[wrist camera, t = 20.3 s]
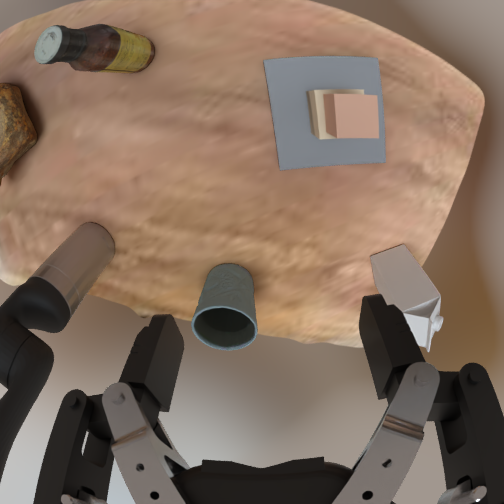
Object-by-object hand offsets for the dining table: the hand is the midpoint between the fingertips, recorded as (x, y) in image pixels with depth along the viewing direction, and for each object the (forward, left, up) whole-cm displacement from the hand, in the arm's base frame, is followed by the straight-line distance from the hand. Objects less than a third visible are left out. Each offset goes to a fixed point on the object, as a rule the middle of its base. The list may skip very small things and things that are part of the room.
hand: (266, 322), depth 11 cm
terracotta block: (+10, +6, -24) cm, 27 cm away
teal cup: (-9, -22, -32) cm, 40 cm away
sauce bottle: (-16, +20, -32) cm, 41 cm away
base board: (+10, +6, -32) cm, 34 cm away
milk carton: (+21, -22, -32) cm, 44 cm away
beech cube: (+10, +6, -30) cm, 32 cm away
